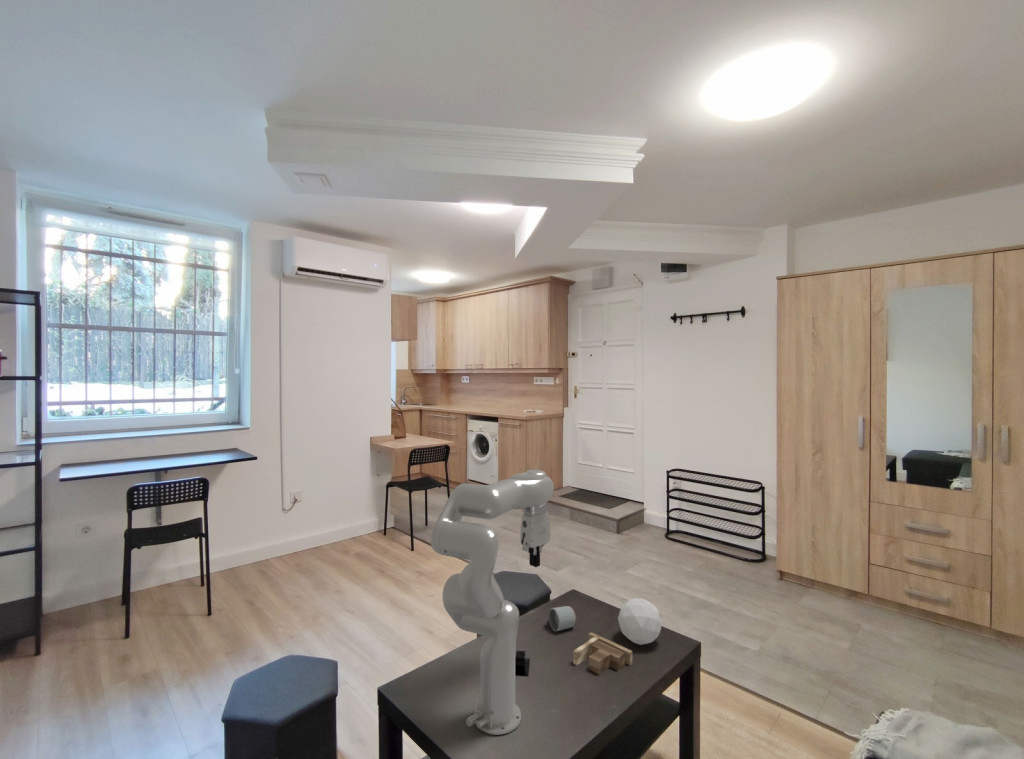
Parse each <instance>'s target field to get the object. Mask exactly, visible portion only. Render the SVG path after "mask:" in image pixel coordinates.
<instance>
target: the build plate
mask: <svg viewBox="0 0 1024 759" xmlns="http://www.w3.org/2000/svg"><path fill="white" fill-rule="evenodd" d="M530 662H531V658H526V651H525V650H515V677H526V678H527V677H529V674H530Z"/></svg>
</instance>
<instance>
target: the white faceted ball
mask: <svg viewBox="0 0 1024 759" xmlns="http://www.w3.org/2000/svg"><path fill="white" fill-rule="evenodd" d="M620 607H621V608H620V610H619V614H618V617H617V620H618V625H619V628H620V631H621V633H622V634H623V635H624V636H625V637H626V638H627V640H628V639H629V640H630V642H632V643H634V644H637V645H639V646H642V645H647V644H651V643H654V642H655V640H656V639H657V638H658V637H659V636H660V634H661V630H662V625H663V622H662V618H661V615H660V613H659V609H658V608H657V607H656V606H655V605H653V603H651V602H650V601H648V599H645V598H641V597H636V598H634V597H633V598H631V599H628V601H626V602H625V603H624V604H622V605H621V606H620Z"/></svg>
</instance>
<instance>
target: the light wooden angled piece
mask: <svg viewBox="0 0 1024 759" xmlns="http://www.w3.org/2000/svg"><path fill="white" fill-rule="evenodd" d="M598 641H601V642H603V643H605V644H607V645H609V646H611V647H613V648H616V649H618V650H620V651H622V652H624V653H625V665H628V666H632V664H633V650H631V649H629V648H627V647H624V646H623V645H621V644H619V643H616V642H614V641H612V640H609V639H607V638H605V637H602V636H601V635H598V634H596V633H594V632H592V631H591V632H589V633H588V641H586V642H585V643H583V644H581V645H580V646H579V647H577V648H575V649H574V650H572V653H573V654H572V663H573V665H576V666H579V665H580V664H581V663H583V662H584V661H585V660H586V659H589V656H590V655H592V645H593V644H595V643H596V642H598Z"/></svg>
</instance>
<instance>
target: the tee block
mask: <svg viewBox="0 0 1024 759" xmlns="http://www.w3.org/2000/svg"><path fill="white" fill-rule="evenodd" d="M625 666H626V663H625V653H624V652H622V651H620V650H618V649H616V648H613V647H611V646H609V645H607V644H605V643H603V642H601V641H598V642H596V643H595V644H593V645H592V655H590V656H589V657H588V670H589V671H591V672H593V673H595V674H597V675H599V676H600V675H601V674H602V673H604V672H605V671H606V670H608V669H609V668H612V669H614V670H615V671H617V672H618V671H619V672H620V671H621V669H623V667H625Z"/></svg>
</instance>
